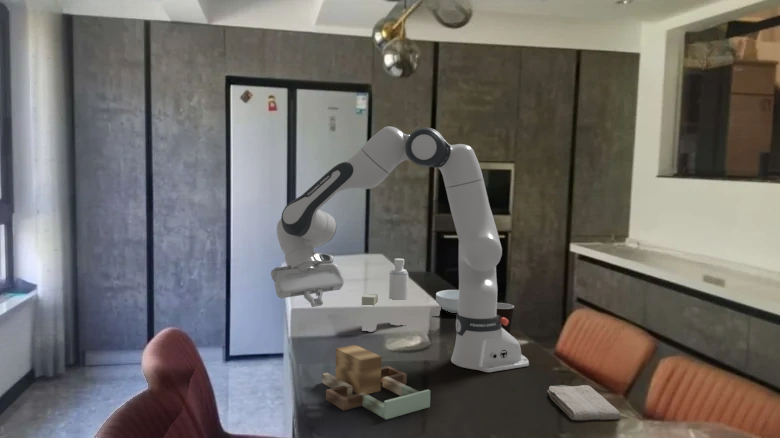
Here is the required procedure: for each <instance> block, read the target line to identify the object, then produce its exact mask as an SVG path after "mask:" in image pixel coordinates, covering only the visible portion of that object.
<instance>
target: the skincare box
mask: <svg viewBox="0 0 780 438" xmlns="http://www.w3.org/2000/svg"><path fill="white" fill-rule="evenodd" d="M378 297H379V296H378V293H365V294H363V295H362V296H361V306H362V305H373V306H374V305H375V304H376V303H377V302H378V299H379V298H378Z"/></svg>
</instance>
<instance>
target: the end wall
mask: <svg viewBox="0 0 780 438" xmlns="http://www.w3.org/2000/svg"><path fill="white" fill-rule="evenodd" d="M431 393H432V392H431V390H430V389H428V388H427V389H424V390H421V391H419V392H416V393H412V394H408V395H405V396H398V397H394V398H389V399H386V400H383V403H384V415H383V419H384V420H389V419H394V418H396V417H399V416H403V415H406V414H410V413H413V412H417V411H418V412H419V411H421V410H423V409H424V410H425V409H427V408H430V407H431Z"/></svg>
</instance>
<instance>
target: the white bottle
mask: <svg viewBox="0 0 780 438" xmlns="http://www.w3.org/2000/svg"><path fill="white" fill-rule="evenodd" d="M393 265H394V268H393V269H391V271H389V282H388V283H389V286H388V289H389V290H388V291H389V292H388V300H389V299H392V300H407V299H408V300H409V271H407V269H405V268H404V265H405V259H404V258H398V257H397V258H394V260H393Z"/></svg>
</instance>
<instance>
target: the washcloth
mask: <svg viewBox="0 0 780 438" xmlns="http://www.w3.org/2000/svg"><path fill="white" fill-rule="evenodd" d="M547 394H548V395H549V397H550V399H551V400H552V402H554V404H556V405H557V406H558V407H559V409H561V410H562V411H563V412H564V413H565V414H566V415H567V416H568V417H569V418H570V419H571V420H572V421H588V420H589V421H591V420H592V421H594V420H597V421H598V420H600V421H602V420H603V421H605V420H606V421H607V420H619V419H621V418H622V417H621V414H620V411H619V410H618V409H617V408H616V407H615V406H614V405H612V404H611V403H610V402H609V401H608V400H607V399H606V398H605V397H603V396H602V395H601V394H600V393H598V391H596V390H595V389H594V388H593V387H592V386H590V385H588V384H587V385H586V384H582V385H581V384H580V385H575V386H574V385H573V386H570V385H564V384H559V385H550V386H549V387H548V389H547Z"/></svg>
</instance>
